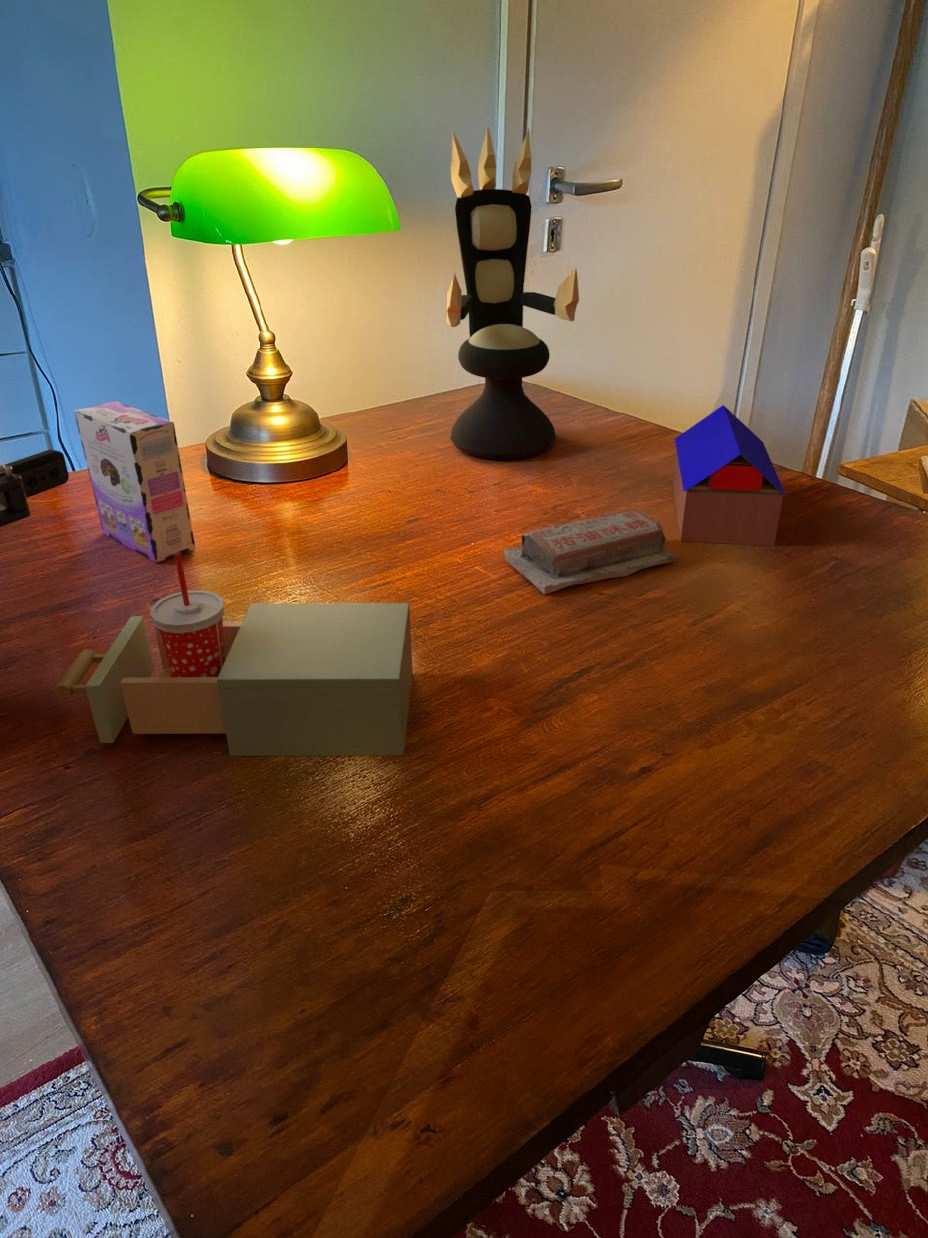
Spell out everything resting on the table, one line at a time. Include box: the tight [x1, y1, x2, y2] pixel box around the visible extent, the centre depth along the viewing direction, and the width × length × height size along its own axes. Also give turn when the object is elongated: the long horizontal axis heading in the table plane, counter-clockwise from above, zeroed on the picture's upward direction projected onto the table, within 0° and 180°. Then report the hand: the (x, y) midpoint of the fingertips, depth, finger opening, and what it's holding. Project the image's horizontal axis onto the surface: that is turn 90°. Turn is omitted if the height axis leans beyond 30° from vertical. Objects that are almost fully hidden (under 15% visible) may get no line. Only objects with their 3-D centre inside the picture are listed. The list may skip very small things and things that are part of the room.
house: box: [671, 404, 787, 547], centre depth 118 cm, size 12×20×12 cm, turn 172°
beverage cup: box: [149, 552, 226, 677], centre depth 78 cm, size 6×6×14 cm
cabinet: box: [217, 602, 414, 757], centre depth 81 cm, size 15×13×8 cm
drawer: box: [54, 615, 243, 744], centre depth 81 cm, size 18×12×6 cm, turn 89°
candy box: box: [73, 400, 196, 564], centre depth 111 cm, size 14×6×16 cm, turn 46°
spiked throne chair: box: [446, 124, 580, 460], centre depth 136 cm, size 19×22×45 cm
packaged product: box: [503, 508, 677, 595], centre depth 107 cm, size 18×5×10 cm
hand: (21, 453), depth 61 cm, fingers open, 8 cm apart
